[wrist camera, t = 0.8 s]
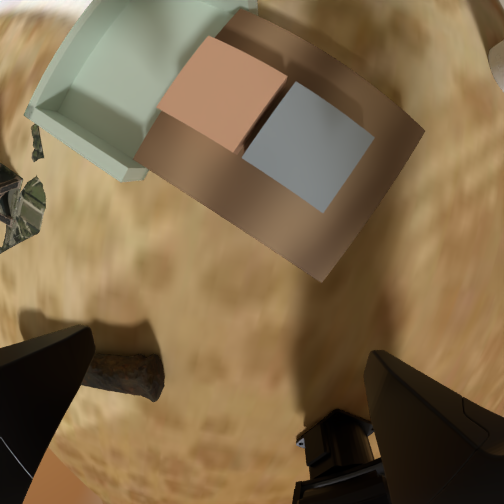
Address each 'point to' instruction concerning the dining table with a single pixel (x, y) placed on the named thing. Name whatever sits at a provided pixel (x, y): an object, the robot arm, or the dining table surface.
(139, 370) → the hand tool
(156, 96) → the tray
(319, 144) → the tile slate
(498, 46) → the dixie cup
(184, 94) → the tile terracotta
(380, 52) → the dining table surface
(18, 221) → the eiffel tower figurine
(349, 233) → the plate
